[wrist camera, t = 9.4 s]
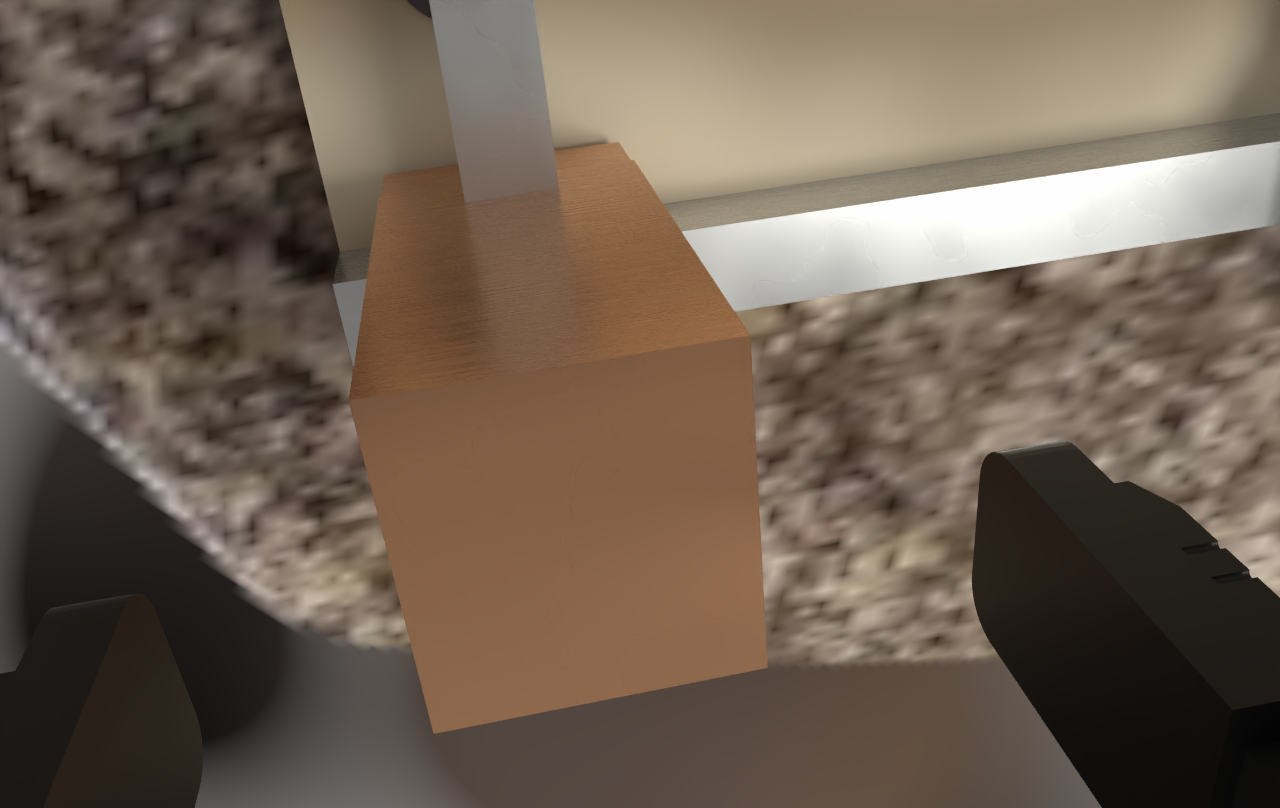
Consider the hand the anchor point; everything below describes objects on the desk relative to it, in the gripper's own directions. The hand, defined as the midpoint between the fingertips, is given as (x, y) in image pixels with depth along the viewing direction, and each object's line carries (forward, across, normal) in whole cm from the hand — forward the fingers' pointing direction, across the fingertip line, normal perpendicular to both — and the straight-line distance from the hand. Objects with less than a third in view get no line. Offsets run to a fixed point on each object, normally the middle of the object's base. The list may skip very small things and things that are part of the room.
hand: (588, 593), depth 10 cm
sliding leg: (+10, 0, -2) cm, 10 cm away
